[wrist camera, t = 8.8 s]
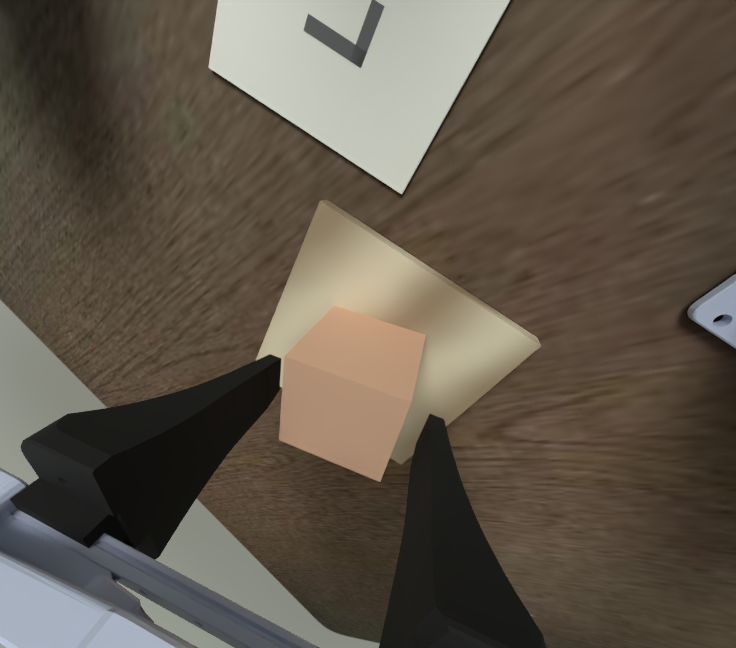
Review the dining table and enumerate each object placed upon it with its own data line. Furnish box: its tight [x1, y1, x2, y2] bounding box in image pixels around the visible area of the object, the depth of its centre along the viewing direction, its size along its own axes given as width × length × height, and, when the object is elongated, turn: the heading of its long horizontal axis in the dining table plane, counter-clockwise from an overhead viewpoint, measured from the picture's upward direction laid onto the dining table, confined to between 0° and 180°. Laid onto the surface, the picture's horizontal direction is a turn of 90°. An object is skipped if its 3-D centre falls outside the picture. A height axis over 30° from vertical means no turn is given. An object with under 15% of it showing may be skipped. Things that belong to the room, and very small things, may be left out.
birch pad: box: [256, 200, 541, 465], centre depth 16 cm, size 12×12×1 cm
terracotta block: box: [279, 306, 426, 482], centre depth 14 cm, size 5×5×5 cm
